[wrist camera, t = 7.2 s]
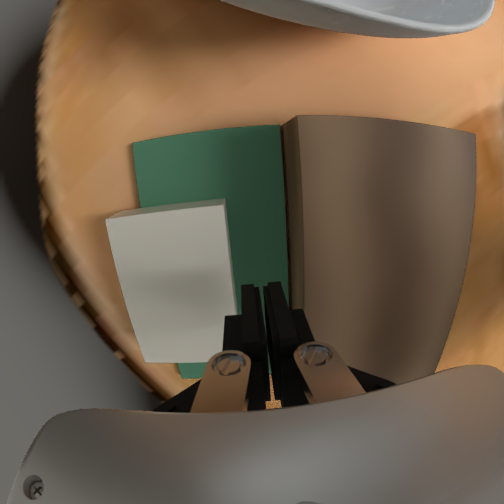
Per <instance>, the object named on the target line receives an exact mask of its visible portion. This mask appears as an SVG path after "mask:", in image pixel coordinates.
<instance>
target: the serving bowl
mask: <svg viewBox="0 0 504 504" xmlns="http://www.w3.org/2000/svg"><path fill="white" fill-rule="evenodd" d="M220 1H223V2H226V3H228V4H231V5H234V6H237V7H240V8H243V9H246V10H250V11H253V12H256V13H260V14H263V15H267V16H270V17H274V18H278V19H281V20H286V21H290V22H294V23H298V24H302V25H306V26H311V27H316V28H320V29H326V30H331V31H336V32H343V33H350V34H357V35H364V36H373V37H386V38H427V37H438V36H444V35H450V34H458V33H463V32H467V31H470V30H473V29H476V28H478V27H479V26H481V25H483V24H484V23H485V22H486V21H487V20H488V19H489V17H490V15H491V14H492V11H493V8H494V4H495V0H220Z"/></svg>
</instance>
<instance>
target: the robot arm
mask: <svg viewBox="0 0 504 504" xmlns="http://www.w3.org/2000/svg"><path fill="white" fill-rule="evenodd" d="M263 295H264V309H265V324H266V331H265V324H264V317H263V310H262V304H261V297H260V290H259V287H254V284H244V285H241V312H242V314H240V315H227V316H225V320H224V334H223V348H222V352H219V353H217V354H215V355H213V356H212V357H211V358H210V359H209V361H208V362H207V365H206V368H205V370H204V373H203V376H202V379H201V380H199V381H198V382H196V383H195V384H193V385H191V386H190V387H188V388H187V389H185V390H184V391H182V392H180V393H179V394H177V395H176V396H174V397H173V398H171V399H169V400H168V401H166V402H164V403H163V404H161V405H159V406H158V407H157V408H156V409H154V410H153V412H150V411H146V410H144V411H133V410H132V411H131V410H118V409H98V408H92V409H78V410H73V411H67V412H64V413H60V414H57V415H55V416H53V417H52V418H50V419H49V420H48V421H47V422H46V423H45V424H44V425H43V426H42V428H41V429H40V431H39V432H38V434H37V435H36V437H35V438H34V440H33V442H32V444H31V445H30V447H29V449H28V451H27V453H26V455H25V457H24V460H23V462H22V464H21V466H20V468H19V471H18V473H17V476H16V478H15V481H14V483H13V486H12V489H11V492H10V495H9V498H8V501H7V504H504V373H503V372H502V371H500V370H499V369H497V368H495V367H493V366H489V365H465V366H459V367H454V368H450V369H446V370H443V371H440V372H436V373H433V374H430V375H427V376H423V377H420V378H417V379H414V380H410V381H407V382H402V383H400V384H397V385H396V384H395V383H393V382H391V381H389V380H386V379H383V378H380V377H377V376H375V375H372V374H369V373H366V372H363V371H361V370H358V369H355V368H352V367H350V366H347V365H346V364H345V362H344V361H343V359H342V358H341V357H340V355H339V354H338V352H337V351H336V350H335V349H334V348H333V347H332V346H331V345H329V344H327V343H324V342H316V341H315V340H314V337H313V334H312V332H311V329H310V326H309V324H308V321H307V319H306V316H305V313H304V311H303V309H302V308H300V309H291V310H289V307H288V304H287V300H286V297H285V294H284V291H283V288H282V284H281V281H276V282H268V286H263ZM267 347H268V349H267ZM268 354H269V361H270V368H271V375H272V382H273V389H274V396H275V400H281V406H282V408H274V409H266V403H265V401H271V396H270V380H269V364H268Z"/></svg>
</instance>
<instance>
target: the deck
mask: <svg viewBox="0 0 504 504" xmlns="http://www.w3.org/2000/svg"><path fill="white" fill-rule="evenodd" d="M282 129H283V141H284V155H285V170H286V186H287V203H288V223H289V247H290V278H291V309H300V308H302V309H303V311H304V313H305V316H306V319H307V321H308V324H309V326H310V329H311V332H312V334H313V337H314V340H315V341H316V342H324V343H327V344H329V345H331V346H332V347H333V348H334V349H335V350H336V351H337V352H338V354H339V355H340V357H341V358H342V359H343V361H344V362H345V364H346V365H347V366H350V367H352V368H355V369H358V370H361V371H363V372H366V373H369V374H372V375H375V376H377V377H380V378H383V379H386V380H389V381H391V382H393V383H395V384H396V385H397V384H400V383H402V382H407V381H410V380H414V379H417V378H420V377H423V376H427V375H430V374H433V373H435V370H436V368H437V365H438V363H439V360H440V358H441V355H442V352H443V349H444V347H445V344H446V341H447V338H448V335H449V332H450V329H451V326H452V322H453V319H454V316H455V312H456V309H457V305H458V301H459V297H460V293H461V289H462V285H463V280H464V276H465V271H466V266H467V260H468V255H469V249H470V242H471V235H472V227H473V218H474V208H475V193H476V135H475V134H473V133H469V132H465V131H460V130H455V129H450V128H445V127H440V126H434V125H428V124H421V123H415V122H407V121H399V120H390V119H380V118H368V117H353V116H328V115H297V116H296V117H294V118H292V119H291V120H289V121H288V122H286V123H285V124H283V125H282Z"/></svg>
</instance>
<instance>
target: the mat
mask: <svg viewBox="0 0 504 504" xmlns="http://www.w3.org/2000/svg"><path fill="white" fill-rule="evenodd" d="M132 146H133V156H134V165H135V173H136V181H137V188H138V195H139V202H140V208H145V207H153V206H160V205H168V204H176V203H185V202H193V201H203V200H212V199H223V198H226V207H227V218H228V228H229V237H230V247H231V256H232V266H233V275H234V284H235V292H236V301H237V310H238V315H240V314H242V312H241V285H244V284H254V287H259V290H260V297H261V304H262V310H263V317H264V324H265V309H264V295H263V286H268V282H276V281H281V284H282V288H283V291H284V294H285V297H286V300H287V304H288V307H289V290H288V259H287V235H286V214H285V196H284V179H283V164H282V150H281V137H280V125H263V126H248V127H236V128H225V129H216V130H208V131H200V132H192V133H185V134H179V135H173V136H167V137H161V138H155V139H150V140H145V141H140V142H135V143H132ZM265 331H266V324H265ZM267 349H268V347H267ZM268 364H269V374H271V368H270V361H269V354H268ZM177 365H178V368H179V371H180V374H181V377H182V379H187V378H202V376H203V373H204V370H205V368H206V365H207V362H197V363H177Z"/></svg>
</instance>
